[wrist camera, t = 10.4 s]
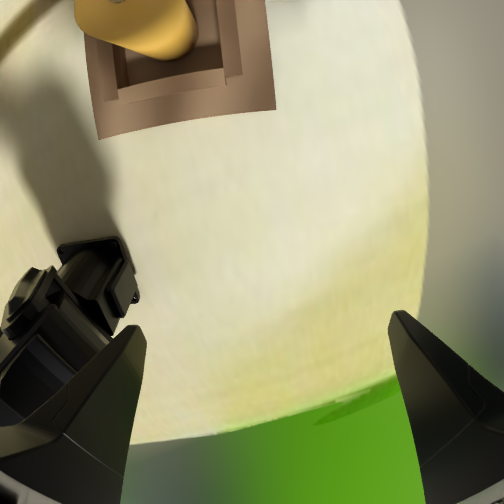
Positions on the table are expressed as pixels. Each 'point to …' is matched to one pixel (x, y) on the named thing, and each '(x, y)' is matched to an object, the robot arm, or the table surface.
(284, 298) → the table surface
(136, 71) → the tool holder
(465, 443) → the robot arm
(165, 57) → the yellow cylindrical piece
